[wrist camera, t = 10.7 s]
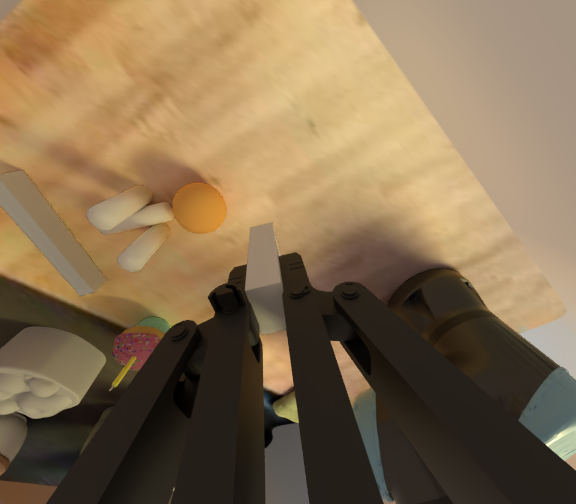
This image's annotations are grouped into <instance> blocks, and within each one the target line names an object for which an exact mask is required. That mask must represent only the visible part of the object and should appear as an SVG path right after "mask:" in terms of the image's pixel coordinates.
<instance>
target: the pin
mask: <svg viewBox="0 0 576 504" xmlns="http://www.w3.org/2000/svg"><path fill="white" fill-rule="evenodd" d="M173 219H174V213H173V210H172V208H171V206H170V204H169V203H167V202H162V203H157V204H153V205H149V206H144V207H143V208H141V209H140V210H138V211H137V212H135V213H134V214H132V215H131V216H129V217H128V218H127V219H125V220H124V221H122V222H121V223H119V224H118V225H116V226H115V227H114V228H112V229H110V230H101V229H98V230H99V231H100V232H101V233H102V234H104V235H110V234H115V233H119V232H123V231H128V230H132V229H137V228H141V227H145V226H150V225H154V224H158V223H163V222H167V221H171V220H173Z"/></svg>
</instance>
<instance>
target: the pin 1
mask: <svg viewBox="0 0 576 504" xmlns="http://www.w3.org/2000/svg"><path fill="white" fill-rule="evenodd" d="M151 201H152V193H151V191H150V190H149V189H148V188H147V187H145V186H142V185H136V186H134V187H132V188H130V189H128V190H126V191H124V192H121V193H119V194H117V195H115V196H113V197H111V198H109V199H107V200H105V201H103V202H100V203H98V204H96V205H94V206H92V207H90V208H89V209H88V210H87V218H88V220H89V222H90V223H91V224H92V225H93V226H95V227H96V228H98V229H101V230H110V229H112V228H114V227H115V226H116V225H118V224H119V223H121V222H122V221H124V220H125V219H127V218H128V217H129V216H131V215H132V214H134V213H135V212H137V211H138V210H140V209H141V208H143V207H144V206H145V205H147V204H148V203H150V202H151Z"/></svg>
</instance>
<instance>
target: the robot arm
mask: <svg viewBox="0 0 576 504" xmlns="http://www.w3.org/2000/svg"><path fill="white" fill-rule="evenodd" d="M228 280H229V281H228V283H226V284H223V285H220V286H219V287H217V288H215V289H214V290H213V291H212V292H211V293H210V294H209V296H208V299H209V301H210V303H211V305H212V307H213V309H214V311H215V316H214V317H213V318H211V319H209V320H208V321H205V322H203V323H201V324H199V325H197V324H196V323H195V322H194V321H191V320H186V321H182V322H180V323H177V324H175V325H174V326H173V327H171V328H170V329H169V330H168V331H167V332H166V333H165V335H164V336H163V337H162V339H161V340H160V342H159V343H158V345H157V346H156V347H155V349H154V350H153V352H152V353H151V355H150V356H149V357H148V359H147V360H146V362H145V363H144V365H143V366H142V367H141V369H140V370H139V372H138V373H137V375H136V376H135V377H134V379H133V380H132V382H131V383H130V385H129V386H128V387H127V389H126V390H125V392H124V393H123V395H122V396H121V397H120V399H119V400H118V402H117V403H116V405H115V406H114V407H113V409H112V410H111V412H110V413H109V415H108V416H107V417H106V419H105V420H104V422H103V423H102V425H101V426H100V427H99V429H98V430H97V432H96V433H95V435H94V436H93V437H92V439H91V440H90V442H89V443H88V445H87V446H86V447H85V449H84V450H83V452H82V453H81V455H80V456H79V457H78V459H77V460H76V462H75V463H74V465H73V466H72V467H71V469H70V470H69V472H68V473H67V475H66V476H65V477H64V479H63V480H62V482H61V483H60V485H59V486H58V487H57V489H56V490H55V492H54V493H53V495H52V496H51V497H50V499H49V500H48V502H47V503H46V504H168V503H169V500H170V497H171V495H172V492H173V490H174V493H173V496H172V501H171V504H265V460H264V459H265V455H264V401H263V349H262V342H261V339H260V337H259V329H260V331H261V334H262V335H266V334H270V333H274V332H278V331H283V330H287V337H288V345H289V352H290V360H291V367H292V375H293V382H294V390H295V398H296V405H297V413H298V420H299V428H300V435H301V442H302V451H303V458H304V465H305V473H306V480H307V488H308V496H309V503H310V504H384V503H383V500H385V501H389V502H392V501H394V500H395V502H396V504H576V471H575V470H574V469H573V468H572V467H571V466H570V465H568V464H567V463H566V462H565V461H564V460H566V459H567V458H569V457H571V456H572V455H574V454H575V453H576V380H575V379H574V378H573V377H572V376H570V375H569V373H568V371H567V370H566V369H565V368H563V367H560V366H559V365H558V364H556V363H555V362H554V361H553V360H551V359H550V358H549V357H547V356H546V355H545V354H543V353H542V352H541V351H540V350H539V349H537V348H536V347H535V346H533V345H532V344H531V343H530V342H528V341H527V340H526V339H525V338H523V337H522V336H521V335H519V334H518V333H517V332H516V331H514V330H513V329H512V328H511V327H509V326H508V325H507V324H505V323H504V322H503V321H502V320H500V319H499V318H498V317H496V316H495V315H494V314H493V313H492V312H490V311H489V310H488V308H487V307H486V305H485V304H484V302H483V301H482V299H481V297H480V296H479V294H478V293H477V292H476V290H475V289H474V287H473V285H472V284H471V283H470V282H469V281H468V280H467V279H466V278H465V277H463V276H462V275H460V274H459V273H458V272H456V271H454V270H451V269H444V268H440V269H432V270H428V271H425V272H423V273H420V274H418V275H416V276H414V277H412V278H411V279H409V280H408V281H407V282H405V283H404V284H403V285H402V286H401V287H400V288H399V289H398V290H397V291H396V292H395V294H394V295H393V297H392V299H391V301H390V303H389V307H387V306H386V305H385V304H384V303H383V302H382V301H381V300H379V299H378V298H377V297H376V296H375V295H374V294H373V293H371V292H370V291H369V290H368V289H367V288H366V287H365V286H363V285H361V284H360V283H356V282H344V283H341V284H339V285H337V286H336V287H335V288H334V290H333V292H324V291H319V290H316V289H314V288H313V287H312V286H311V284H310V282H309V279H308V276H307V273H306V270H305V267H304V264H303V261H302V258H301V256H300V255H299V254H297V253H296V252H295V253H291V254H287V255H282V256H281V254H280V250H279V246H278V242H277V238H276V234H275V231H274V227H273V223H268V224H264V225H259V226H255V227H251V228H250V237H249V248H248V260H247V265H243V266H238V267H234V269H233V270H232V271H231V272H230V274H229V279H228ZM330 341H340V343H341V345H342V346H343V348H344V349H345V351H346V352H347V353H348V355H349V356H350V358H351V359H352V360H353V362H354V363H355V365H356V366H357V368H358V369H359V370H360V372H361V373H362V375H363V376H364V378H365V379H366V380H367V382H368V383H369V385H370V386H371V388H369V389H367V390H365V391H363V392H362V393H360V394H358V395H357V397H356V398H355V401H354V404H353V409H352V406H351V403H350V400H349V397H348V394H347V391H346V388H345V385H344V382H343V379H342V376H341V372H340V369H339V366H338V363H337V360H336V357H335V354H334V351H333V348H332V345H331V342H330ZM183 373H184V374H183ZM182 374H183V376H182ZM181 376H182V378H181ZM180 378H181V379H180ZM174 487H175V488H174ZM382 499H383V500H382Z"/></svg>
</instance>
